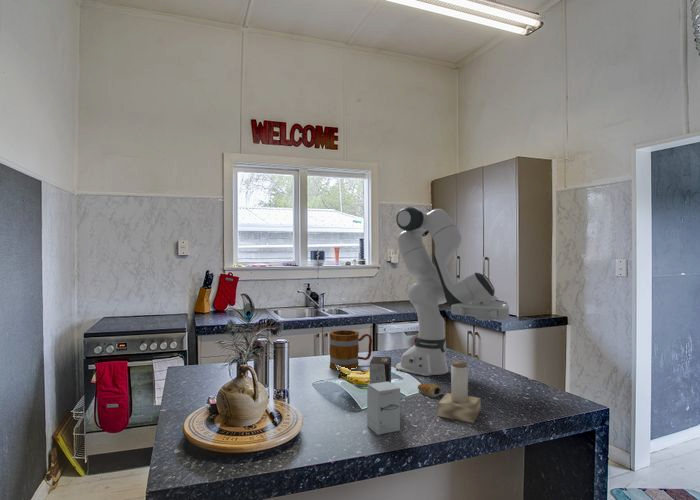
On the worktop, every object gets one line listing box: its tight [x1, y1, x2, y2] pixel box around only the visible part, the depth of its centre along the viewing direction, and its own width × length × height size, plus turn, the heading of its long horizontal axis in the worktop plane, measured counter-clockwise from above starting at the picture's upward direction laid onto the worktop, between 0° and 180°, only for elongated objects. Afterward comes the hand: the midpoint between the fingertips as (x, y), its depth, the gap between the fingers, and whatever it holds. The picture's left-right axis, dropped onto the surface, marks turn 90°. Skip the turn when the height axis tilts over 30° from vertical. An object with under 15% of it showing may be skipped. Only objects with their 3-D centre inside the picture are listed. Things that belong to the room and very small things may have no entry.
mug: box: [329, 329, 373, 371], centre depth 191 cm, size 20×14×15 cm
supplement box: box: [366, 382, 401, 436], centre depth 125 cm, size 7×7×13 cm
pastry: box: [417, 383, 444, 398], centre depth 156 cm, size 9×7×4 cm
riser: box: [437, 392, 482, 424], centre depth 137 cm, size 11×11×4 cm
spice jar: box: [450, 360, 469, 403], centre depth 137 cm, size 5×5×12 cm
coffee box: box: [369, 356, 392, 384], centre depth 141 cm, size 9×6×16 cm
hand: (475, 313), depth 149 cm, fingers open, 8 cm apart
